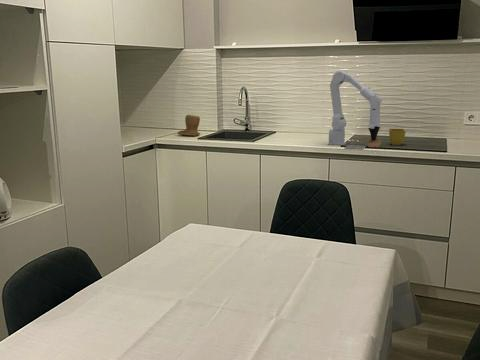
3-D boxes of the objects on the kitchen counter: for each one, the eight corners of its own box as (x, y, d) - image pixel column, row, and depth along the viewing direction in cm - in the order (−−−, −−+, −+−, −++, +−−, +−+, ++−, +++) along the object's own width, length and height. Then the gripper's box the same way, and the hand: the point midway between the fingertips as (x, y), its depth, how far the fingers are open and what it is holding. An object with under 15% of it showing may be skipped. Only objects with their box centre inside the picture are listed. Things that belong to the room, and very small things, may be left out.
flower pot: (404, 145, 286) (405, 130, 284) (389, 145, 288) (390, 130, 286) (403, 143, 295) (403, 128, 293) (388, 143, 297) (388, 128, 294)
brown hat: (204, 135, 347) (203, 114, 344) (194, 137, 337) (193, 115, 334) (186, 134, 355) (186, 113, 351) (177, 136, 345) (175, 115, 341)
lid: (364, 142, 284) (365, 135, 283) (367, 139, 292) (368, 133, 291) (379, 142, 280) (380, 136, 280) (382, 140, 288) (382, 134, 287)
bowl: (365, 147, 285) (366, 142, 284) (368, 145, 292) (368, 140, 291) (379, 147, 282) (379, 142, 281) (381, 145, 288) (381, 140, 288)
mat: (344, 148, 281) (344, 147, 281) (348, 145, 291) (348, 145, 291) (363, 149, 277) (363, 149, 277) (366, 146, 286) (366, 145, 286)
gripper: (379, 117, 274) (378, 141, 278) (384, 115, 287) (382, 137, 290) (367, 117, 277) (366, 140, 281) (371, 114, 290) (370, 137, 293)
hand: (373, 139), depth 286 cm, fingers closed on lid, 3 cm apart
